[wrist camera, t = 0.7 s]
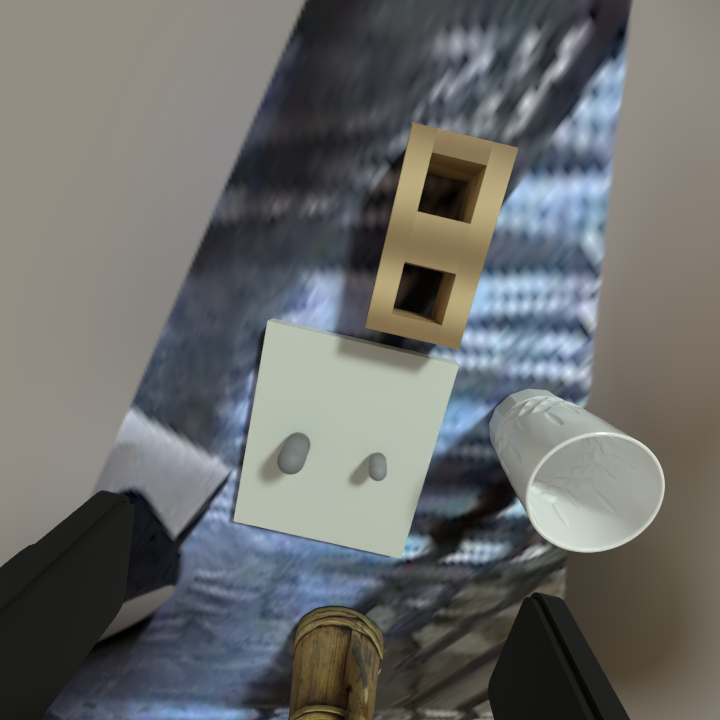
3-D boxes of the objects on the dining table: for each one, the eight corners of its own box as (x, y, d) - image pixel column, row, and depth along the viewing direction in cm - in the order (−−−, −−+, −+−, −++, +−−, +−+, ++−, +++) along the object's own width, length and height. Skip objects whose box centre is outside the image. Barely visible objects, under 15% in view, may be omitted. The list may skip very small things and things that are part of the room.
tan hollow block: (406, 147, 28) (412, 122, 23) (493, 168, 28) (518, 147, 23) (366, 317, 31) (364, 327, 26) (445, 336, 31) (458, 349, 26)
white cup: (475, 465, 33) (516, 547, 24) (487, 377, 32) (538, 427, 22) (567, 472, 33) (647, 557, 24) (586, 384, 31) (680, 437, 22)
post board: (272, 318, 31) (248, 330, 25) (455, 360, 31) (473, 382, 25) (239, 510, 35) (212, 559, 30) (399, 546, 36) (404, 601, 30)
